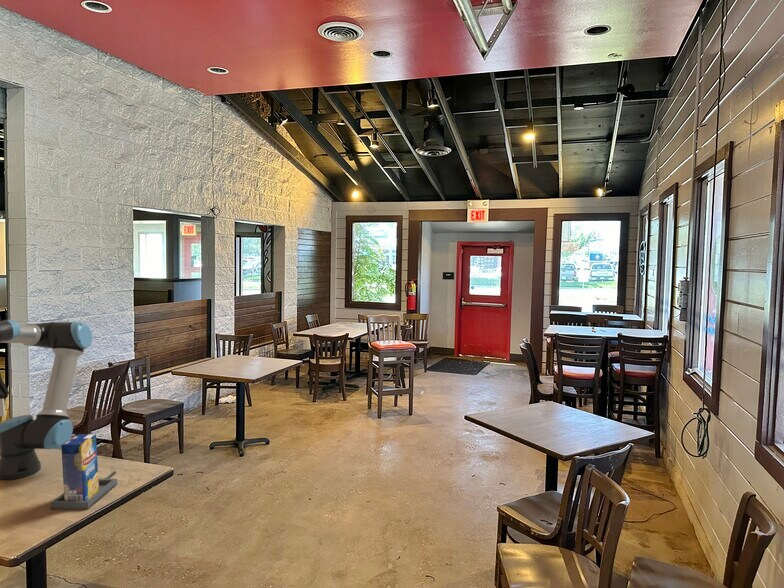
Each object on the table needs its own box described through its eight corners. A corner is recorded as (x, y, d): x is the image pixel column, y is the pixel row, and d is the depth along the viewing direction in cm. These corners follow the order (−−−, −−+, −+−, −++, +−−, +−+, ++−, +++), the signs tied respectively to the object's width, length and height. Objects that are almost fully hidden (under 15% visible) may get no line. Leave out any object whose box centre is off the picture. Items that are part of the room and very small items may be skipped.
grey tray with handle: (98, 473, 216) (98, 467, 216) (131, 473, 216) (130, 467, 216) (51, 509, 186) (50, 502, 186) (88, 509, 186) (88, 502, 185)
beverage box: (99, 489, 199) (96, 433, 197) (84, 503, 188) (81, 444, 186) (80, 490, 198) (77, 434, 197) (64, 504, 188) (61, 445, 186)
